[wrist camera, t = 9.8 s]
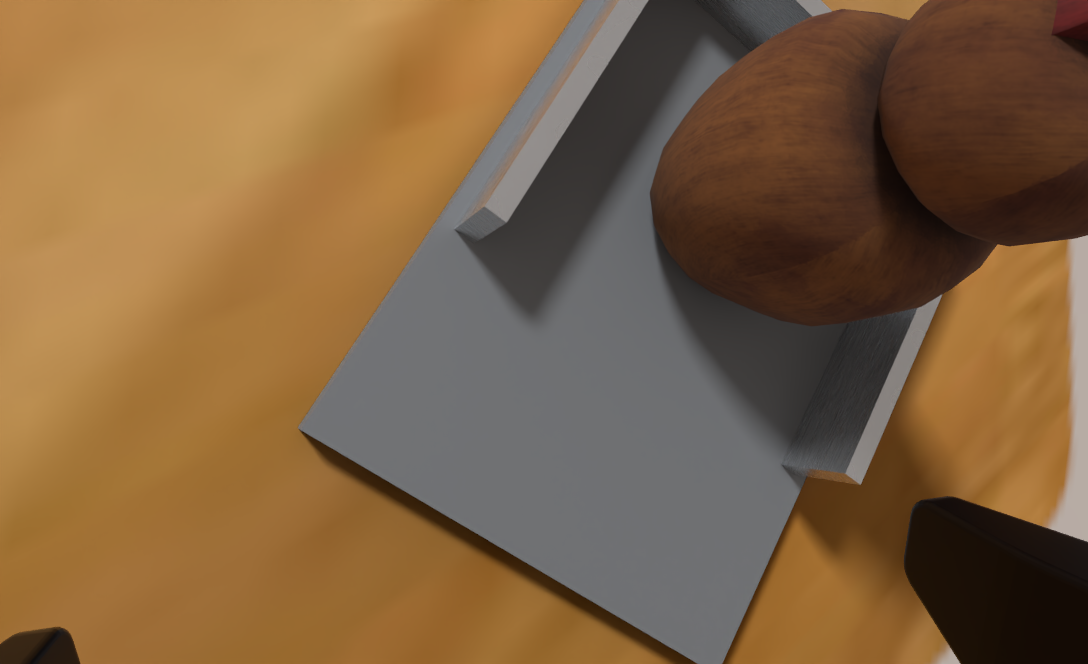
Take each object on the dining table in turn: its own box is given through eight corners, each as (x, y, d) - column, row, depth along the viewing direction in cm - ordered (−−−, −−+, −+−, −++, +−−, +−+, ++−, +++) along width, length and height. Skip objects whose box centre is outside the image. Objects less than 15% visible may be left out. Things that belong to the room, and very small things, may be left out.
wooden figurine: (836, 220, 23) (1733, -35, 9) (748, 369, 21) (1677, 332, 8) (683, 66, 21) (1503, -535, 7) (575, 215, 20) (1368, -199, 6)
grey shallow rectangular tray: (696, 662, 21) (778, 711, 18) (297, 427, 18) (309, 437, 14) (911, 197, 26) (1007, 170, 22) (627, -66, 22) (693, -144, 19)
